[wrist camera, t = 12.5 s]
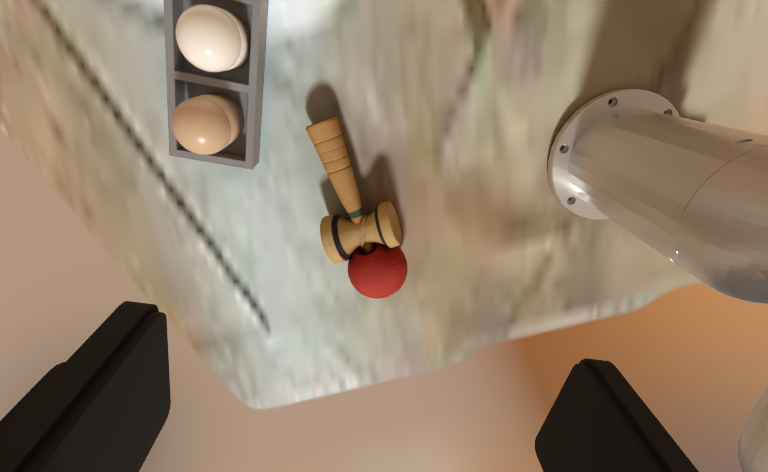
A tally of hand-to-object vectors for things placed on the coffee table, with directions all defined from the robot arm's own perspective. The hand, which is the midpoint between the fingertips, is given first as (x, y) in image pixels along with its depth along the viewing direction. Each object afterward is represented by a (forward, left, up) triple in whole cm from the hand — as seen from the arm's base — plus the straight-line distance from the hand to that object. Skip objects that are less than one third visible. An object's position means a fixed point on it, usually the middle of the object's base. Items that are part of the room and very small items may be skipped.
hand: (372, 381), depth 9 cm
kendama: (0, +7, -31) cm, 32 cm away
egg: (+13, -5, -30) cm, 33 cm away
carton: (+13, -2, -30) cm, 33 cm away
